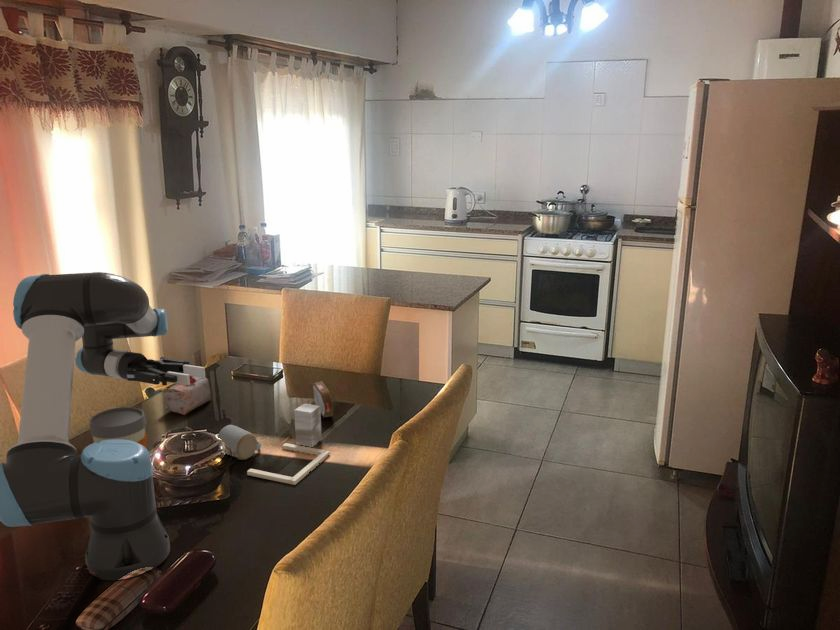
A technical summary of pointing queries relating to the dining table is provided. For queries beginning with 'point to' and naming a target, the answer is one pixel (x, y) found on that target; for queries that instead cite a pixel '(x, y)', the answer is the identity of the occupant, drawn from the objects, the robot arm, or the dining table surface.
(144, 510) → the robot arm
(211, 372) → the dining table surface
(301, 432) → the grey block
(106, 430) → the reusable coffee cup
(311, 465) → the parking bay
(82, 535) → the dining table surface
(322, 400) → the tin
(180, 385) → the food item
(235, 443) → the ceramic mug
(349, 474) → the dining table surface
